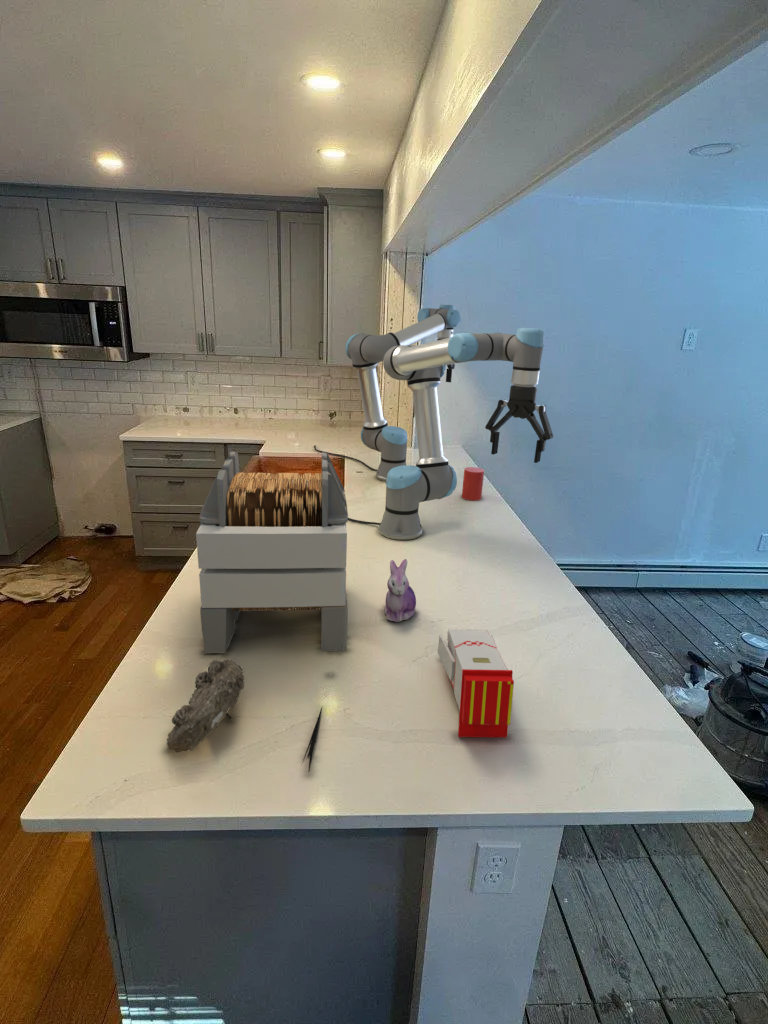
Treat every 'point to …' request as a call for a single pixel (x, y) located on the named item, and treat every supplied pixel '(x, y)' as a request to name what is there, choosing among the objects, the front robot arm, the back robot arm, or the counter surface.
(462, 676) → the toy
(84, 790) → the counter surface
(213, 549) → the record crate
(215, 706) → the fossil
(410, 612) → the figurine
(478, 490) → the can
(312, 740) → the feather
